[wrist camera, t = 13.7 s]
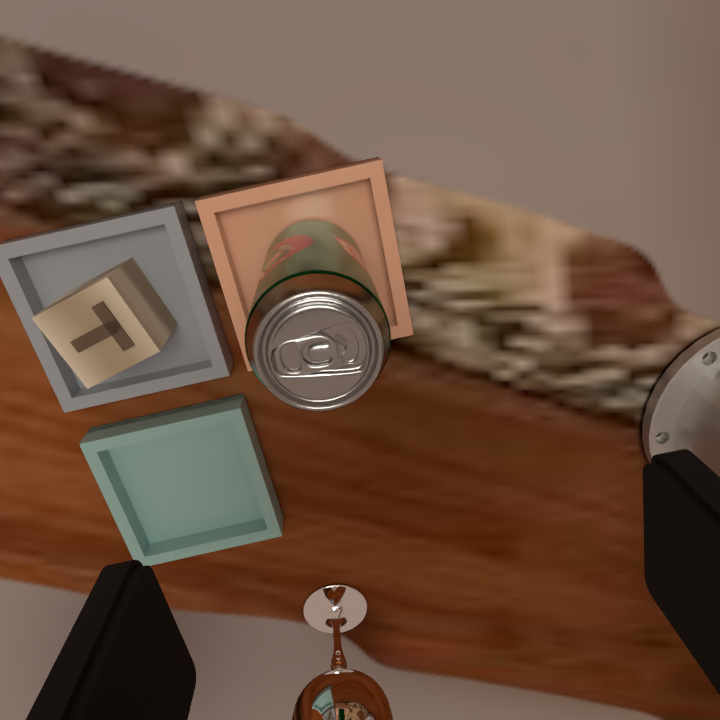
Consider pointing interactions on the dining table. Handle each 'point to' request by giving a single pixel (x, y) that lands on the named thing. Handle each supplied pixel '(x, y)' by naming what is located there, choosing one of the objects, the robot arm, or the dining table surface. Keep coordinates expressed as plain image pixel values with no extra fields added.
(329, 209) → the tray terracotta
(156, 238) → the tray slate
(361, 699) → the wineglass
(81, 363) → the letter cube
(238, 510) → the tray teal
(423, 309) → the dining table surface
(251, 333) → the soda can
